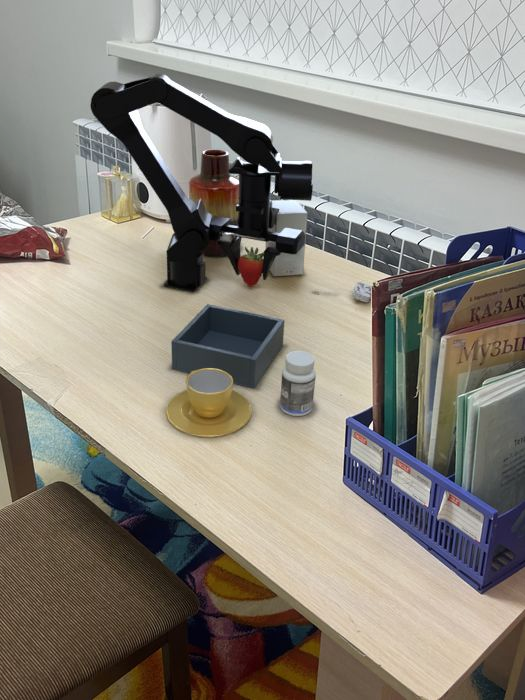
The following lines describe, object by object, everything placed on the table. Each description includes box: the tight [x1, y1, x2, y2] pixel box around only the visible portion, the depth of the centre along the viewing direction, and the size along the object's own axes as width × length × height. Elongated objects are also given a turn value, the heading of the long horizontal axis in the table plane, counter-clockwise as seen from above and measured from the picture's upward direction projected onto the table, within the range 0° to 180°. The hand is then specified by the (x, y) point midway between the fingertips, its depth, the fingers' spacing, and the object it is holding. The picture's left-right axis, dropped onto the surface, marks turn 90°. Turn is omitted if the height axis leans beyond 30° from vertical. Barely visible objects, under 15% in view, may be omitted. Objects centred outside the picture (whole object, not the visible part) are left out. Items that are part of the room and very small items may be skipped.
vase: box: [188, 148, 239, 258], centre depth 144 cm, size 11×11×20 cm
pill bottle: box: [279, 350, 317, 417], centre depth 97 cm, size 5×5×8 cm
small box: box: [264, 199, 309, 277], centre depth 138 cm, size 8×6×13 cm
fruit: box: [238, 246, 264, 287], centre depth 131 cm, size 5×5×8 cm
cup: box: [165, 368, 253, 437], centre depth 96 cm, size 12×12×5 cm
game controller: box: [315, 281, 372, 303], centre depth 130 cm, size 6×12×3 cm, turn 100°
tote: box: [170, 303, 285, 389], centre depth 109 cm, size 14×14×5 cm
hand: (251, 276), depth 132 cm, fingers closed on fruit, 5 cm apart
